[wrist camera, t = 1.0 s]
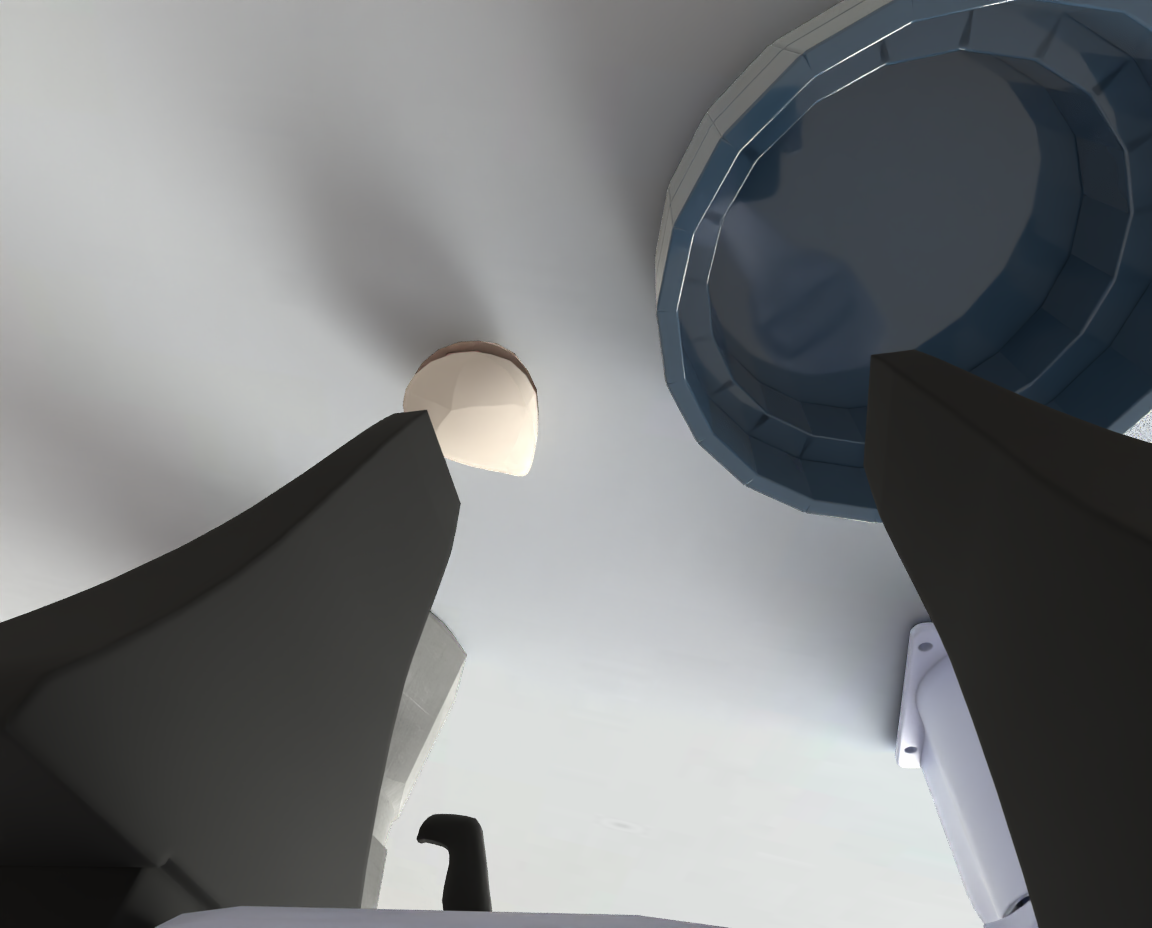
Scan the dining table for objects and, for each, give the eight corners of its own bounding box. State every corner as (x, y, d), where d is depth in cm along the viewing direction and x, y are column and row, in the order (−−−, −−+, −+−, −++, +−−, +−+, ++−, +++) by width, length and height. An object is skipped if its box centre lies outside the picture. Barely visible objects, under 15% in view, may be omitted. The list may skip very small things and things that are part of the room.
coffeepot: (278, 713, 34) (-9, 1261, 19) (194, 581, 28) (-294, 1196, 14) (574, 713, 31) (508, 1337, 17) (542, 568, 26) (404, 1293, 11)
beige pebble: (500, 306, 20) (483, 340, 18) (583, 430, 22) (576, 473, 20) (394, 367, 22) (367, 405, 19) (481, 477, 24) (466, 521, 22)
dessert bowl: (1071, 409, 20) (1166, 498, 16) (680, 453, 22) (686, 540, 19) (1197, -86, 14) (1400, -123, 10) (627, 45, 16) (620, 55, 12)
